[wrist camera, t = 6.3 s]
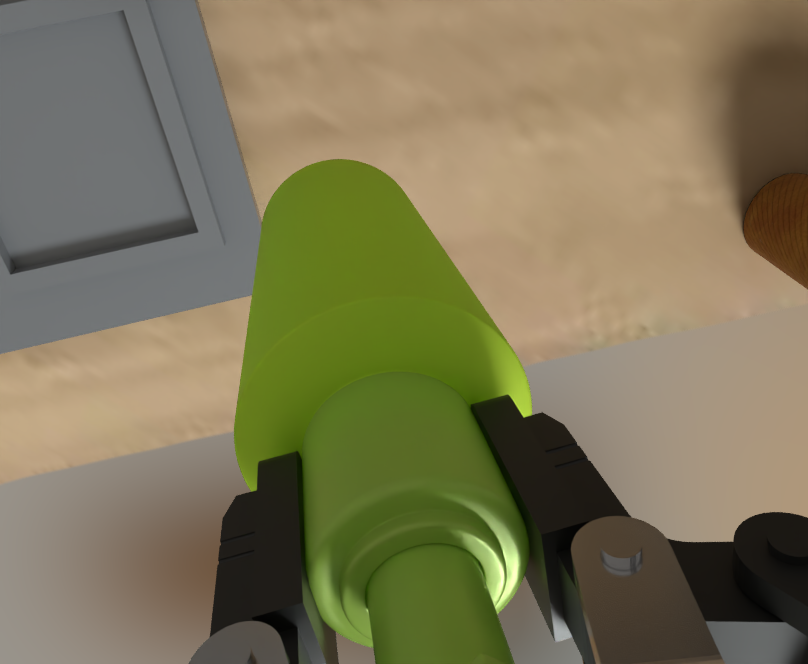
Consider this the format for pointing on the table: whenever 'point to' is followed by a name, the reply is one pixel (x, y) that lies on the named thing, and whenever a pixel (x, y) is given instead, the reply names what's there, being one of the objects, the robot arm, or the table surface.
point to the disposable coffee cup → (781, 225)
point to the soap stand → (115, 169)
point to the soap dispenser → (383, 418)
